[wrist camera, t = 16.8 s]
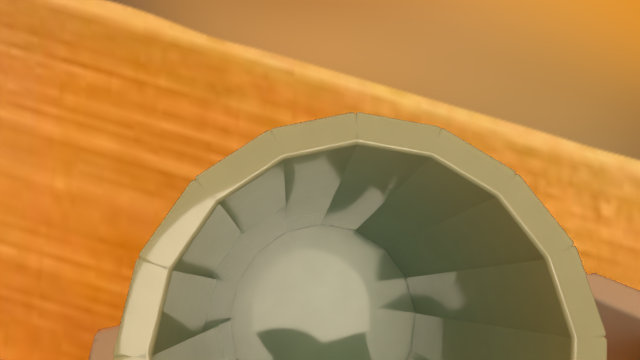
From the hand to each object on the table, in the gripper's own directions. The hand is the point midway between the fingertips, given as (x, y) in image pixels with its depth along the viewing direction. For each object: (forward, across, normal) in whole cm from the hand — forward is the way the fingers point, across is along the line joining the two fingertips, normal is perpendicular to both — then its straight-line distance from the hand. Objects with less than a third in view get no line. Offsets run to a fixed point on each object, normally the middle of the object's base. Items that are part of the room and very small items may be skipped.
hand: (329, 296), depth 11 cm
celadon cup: (+3, 0, +4) cm, 5 cm away
